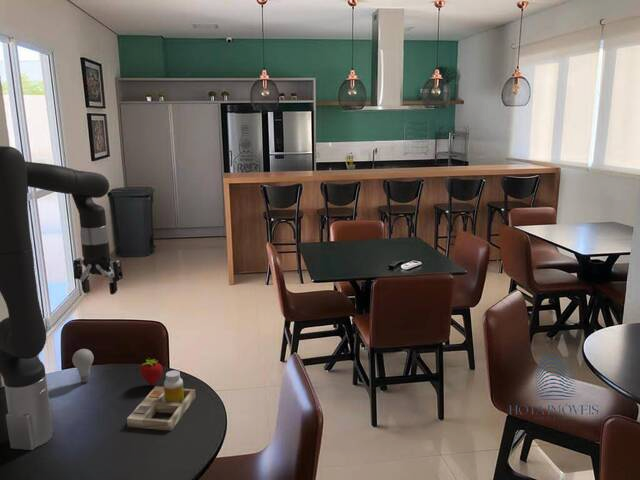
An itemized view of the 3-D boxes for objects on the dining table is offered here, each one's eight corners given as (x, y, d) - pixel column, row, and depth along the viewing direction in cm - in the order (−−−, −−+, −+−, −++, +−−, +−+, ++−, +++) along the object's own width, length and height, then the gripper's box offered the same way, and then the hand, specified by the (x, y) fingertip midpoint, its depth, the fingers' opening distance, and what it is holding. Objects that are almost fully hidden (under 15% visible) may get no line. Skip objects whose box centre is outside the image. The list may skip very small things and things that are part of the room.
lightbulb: (81, 388, 161) (77, 355, 158) (71, 382, 164) (67, 350, 162) (99, 380, 165) (96, 349, 163) (89, 375, 169) (86, 344, 166)
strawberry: (154, 392, 158) (151, 362, 156) (136, 386, 162) (134, 357, 159) (168, 384, 163) (166, 355, 161) (151, 378, 167) (148, 349, 165)
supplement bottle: (184, 407, 150) (182, 376, 148) (164, 409, 149) (162, 378, 147) (184, 397, 155) (182, 368, 153) (165, 400, 154) (163, 370, 152)
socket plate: (171, 430, 139) (170, 421, 138) (127, 426, 141) (126, 417, 140) (195, 396, 156) (195, 388, 155) (156, 393, 158) (155, 385, 157)
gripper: (64, 242, 150) (70, 295, 154) (110, 244, 149) (115, 298, 152) (80, 237, 158) (85, 288, 161) (124, 238, 156) (128, 290, 159)
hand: (100, 293), depth 157 cm, fingers open, 8 cm apart
